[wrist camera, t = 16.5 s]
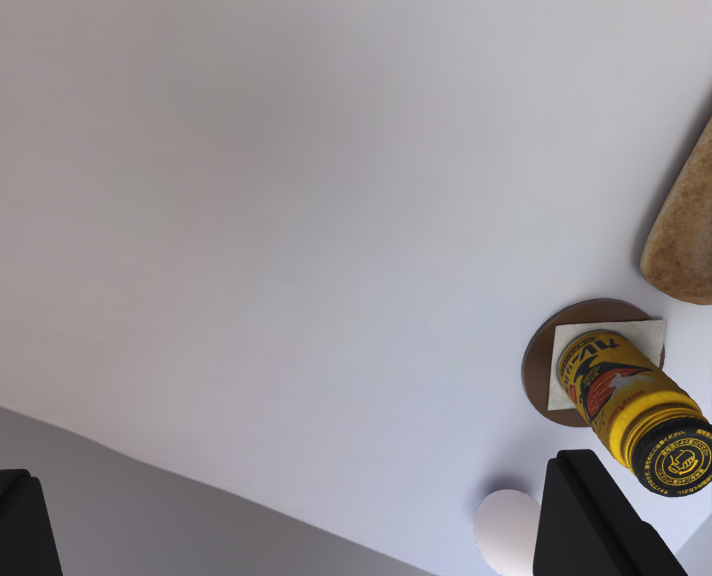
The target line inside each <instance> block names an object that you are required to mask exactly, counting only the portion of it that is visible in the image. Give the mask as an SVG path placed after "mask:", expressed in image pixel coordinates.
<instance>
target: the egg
mask: <svg viewBox="0 0 712 576" xmlns="http://www.w3.org/2000/svg"><path fill="white" fill-rule="evenodd" d="M540 511H541V506H540V504H539V503H538V502H537V501H536V500H534V499H533V498H532V497H530V496H529V495H527V494H525V493H523V492H520V491H517V490H511V489H503V490H498V491H495V492H493V493H491V494H489V495H488V496H487V497H486V498H484V500H483V501H482V502H481V504H480V505H479V506H478V508H477V510H476V513H475V517H474V527H473V532H474V537H475V541H476V544H477V546H478V549H479V551H480V553H481V555H482V556H483V558H484V559H485V561H486V562H487V563H488V564H489V565H490V566H491V567H492V568H493V569H494V570H495V571H496V572H497V573H499V574H500V575H501V576H533V569H532V568H533V559H534V552H535V545H536V539H537V532H538V525H539V518H540Z"/></svg>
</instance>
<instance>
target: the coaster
mask: <svg viewBox="0 0 712 576" xmlns="http://www.w3.org/2000/svg"><path fill="white" fill-rule="evenodd" d="M648 320H652V319H651V318H650V317H649V316H648V315H647V314H646V313H644V312H643V311H642V310H640V309H639V308H637V307H635V306H633V305H631V304H629V303H626V302H623V301H618V300H613V299H597V300H589V301H585V302H581V303H578V304H575V305H572V306H570V307H568V308H566V309H564V310H562V311H561V312H559V313H557V314H556V315H554V316H553V317H552V318H550V319H549V320H548V321H547V322H546V323H545V324H544V325H543V326H542V327H541V328H540V329H539V330H538V331H537V333H536V334H535V335H534V337H533V338H532V340H531V341H530V343H529V345H528V347H527V349H526V352H525V355H524V358H523V364H522V383H523V387H524V390H525V393H526V395H527V397H528V399H529V400H530V402H531V403H532V405H533V406H534V407H535V409H536V410H537V411H538V412H539V413H541V414H542V415H543V416H544V417H546V418H548V419H549V420H551V421H553V422H556V423H558V424H561V425H565V426H570V427H591V426H590V425H589V424H588V423H587V421H585V419H584V418H583V416H582V415H581V414H580V413H579V411H578V410H577V408H569V409H558V410H548V403H549V394H550V392H549V390H550V378H551V366H552V356H553V348H554V340H555V330H556V326H559V325H569V324H572V325H574V324H589V323H605V322H631V321H648ZM664 358H665V349H664V342H663V347H662V351H661V354H660V364H659V368H660V369H661V370H662V368H663V364H664Z"/></svg>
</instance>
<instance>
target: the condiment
mask: <svg viewBox="0 0 712 576" xmlns="http://www.w3.org/2000/svg"><path fill="white" fill-rule="evenodd" d="M667 320H668V319H666V320H648V321H631V322H605V323H589V324H574V325H572V324H569V325H559V326H556V330H555V340H554V348H553V356H552V366H551V378H550V390H549V392H550V394H549V403H548V410H558V409H569V408H577V410H578V411H579V413H580V414H581V415H582V416H583V418H584V419H585V421H587V423H588V424H589V425H590V426H591V428H592V429H593V432H595V434H596V435H597V436H598V438H599V439H600V440H601V442H602V444H603V445H604V446H605V447H606V449H607V450H608V451H609V452H610V453H611V455H612V456H613V458H614V459H616V460H617V461H618V462H619V463H620V464H621V465H623V466H625V467H626V468H628V469H629V470H630V471H631V472H632V473H633V474H634V475H635V476H636V477H637V478H638V480H639V482H640V483H641V484H642V485H643V486H644V487H645V488H647V489H648V490H649V491H651V492H653V493H656V494H659V495H662V496H665V497H682V496H687V495H691V494H694V493H696V492H698V491H700V490H701V489H702V488H704V487H705V486H707V484H709V483H710V482H711V481H712V425H711V424H710V423H709V422H708V420H707V419H706V418H705V417H704V416H703V414H702V412H701V409H700V408H699V406H698V404H697V403H696V402H695V401H694V400H693V399H692V398H690V396H689V395H688V394H687V392H685V391H684V390H683V389H681V388H680V387H679V386H678V385H677V384H676V383H675V382H674V381H673V380H672V379H671V378H670V377H668V376H667V375H666V374H665V373H664V372H663V371H662V370H661V369H660V368H659V364H660V354H661V351H662V347H663V342H664V334H665V331H666V326H667Z"/></svg>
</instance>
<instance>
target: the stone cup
mask: <svg viewBox="0 0 712 576" xmlns="http://www.w3.org/2000/svg"><path fill="white" fill-rule="evenodd" d="M640 268H641V272H642V274H643V276H644V277H645V279H646V280H647V281H648V282H649V283H650V284H652V285H653V286H654V287H655V288H657V289H658V290H660V291H662V292H664V293H666V294H667V295H669V296H671V297H673V298H675V299H678V300H681V301H685V302H690V303H694V304H698V305H712V117H711V118H710V120H709V122H708V124H707V126H706V127H705V129H704V131H703V133H702V135H701V136H700V138H699V140H698V142H697V143H696V145H695V147H694V149H693V151H692V153H691V154H690V156H689V158H688V159H687V161H686V163H685V165H684V167H683V168H682V170H681V172H680V174H679V176H678V178H677V179H676V181H675V183H674V185H673V187H672V189H671V191H670V192H669V194H668V196H667V198H666V200H665V202H664V204H663V206H662V208H661V210H660V212H659V214H658V217H657V219H656V221H655V223H654V225H653V227H652V229H651V231H650V233H649V235H648V238H647V240H646V242H645V246H644V249H643V253H642V257H641V261H640Z"/></svg>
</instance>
